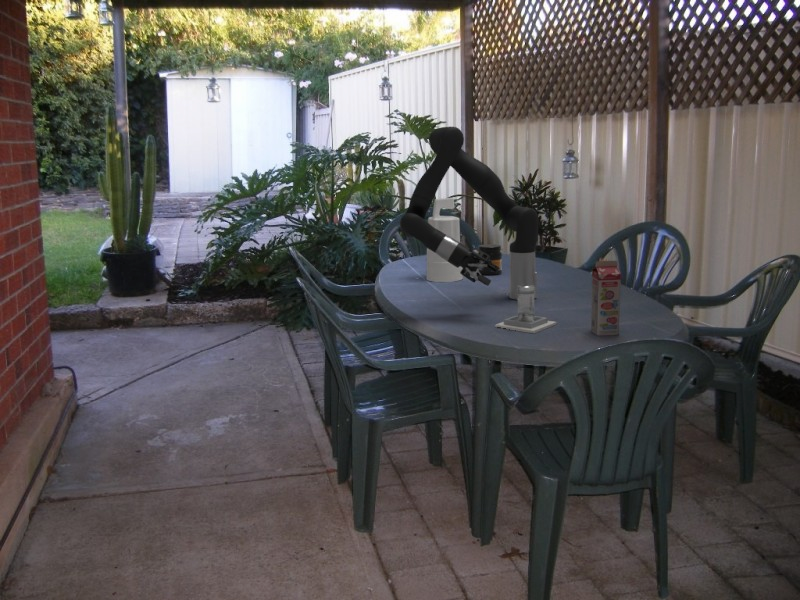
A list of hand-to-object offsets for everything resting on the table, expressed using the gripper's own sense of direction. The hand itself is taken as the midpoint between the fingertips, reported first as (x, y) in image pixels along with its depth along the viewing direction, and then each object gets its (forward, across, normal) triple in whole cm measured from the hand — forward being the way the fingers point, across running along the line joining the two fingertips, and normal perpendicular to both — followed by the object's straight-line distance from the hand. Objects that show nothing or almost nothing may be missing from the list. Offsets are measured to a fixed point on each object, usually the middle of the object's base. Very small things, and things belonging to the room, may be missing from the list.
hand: (493, 277), depth 274 cm
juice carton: (+37, -18, +8) cm, 42 cm away
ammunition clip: (+40, +25, -40) cm, 62 cm away
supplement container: (-1, +66, -48) cm, 81 cm away
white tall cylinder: (-16, +64, -32) cm, 73 cm away
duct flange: (+16, -4, +13) cm, 21 cm away
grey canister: (+16, -5, +12) cm, 21 cm away
